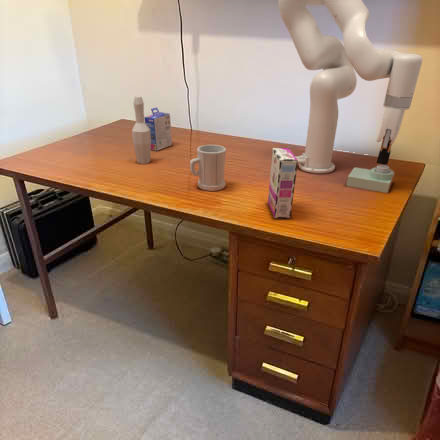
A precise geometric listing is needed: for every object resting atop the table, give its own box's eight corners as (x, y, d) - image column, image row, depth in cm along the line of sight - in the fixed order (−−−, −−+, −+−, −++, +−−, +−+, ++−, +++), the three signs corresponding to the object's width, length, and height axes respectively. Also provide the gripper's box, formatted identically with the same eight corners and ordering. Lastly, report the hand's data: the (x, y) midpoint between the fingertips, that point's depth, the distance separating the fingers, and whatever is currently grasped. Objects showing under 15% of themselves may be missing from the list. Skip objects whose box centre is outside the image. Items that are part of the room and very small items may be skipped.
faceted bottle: (135, 164, 156) (128, 99, 143) (134, 159, 161) (128, 95, 149) (153, 163, 157) (148, 98, 145) (151, 158, 162) (146, 94, 150)
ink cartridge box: (162, 143, 179) (159, 105, 171) (172, 145, 176) (170, 107, 168) (146, 148, 172) (143, 110, 164) (157, 151, 170) (154, 111, 161)
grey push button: (374, 172, 138) (375, 167, 137) (376, 169, 141) (377, 163, 140) (387, 175, 137) (388, 169, 136) (389, 171, 140) (390, 165, 139)
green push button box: (346, 185, 141) (348, 170, 139) (352, 176, 149) (355, 161, 146) (387, 193, 137) (391, 177, 134) (392, 182, 144) (395, 168, 141)
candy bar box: (292, 218, 120) (298, 159, 111) (274, 219, 120) (279, 160, 111) (283, 202, 130) (289, 147, 120) (267, 203, 129) (271, 147, 120)
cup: (213, 195, 134) (213, 156, 127) (188, 189, 138) (187, 151, 131) (230, 184, 141) (231, 147, 134) (207, 179, 145) (206, 142, 138)
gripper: (388, 95, 134) (374, 154, 145) (380, 105, 123) (365, 168, 134) (413, 98, 131) (397, 158, 142) (407, 108, 120) (390, 172, 131)
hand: (382, 163), depth 138 cm, fingers closed
